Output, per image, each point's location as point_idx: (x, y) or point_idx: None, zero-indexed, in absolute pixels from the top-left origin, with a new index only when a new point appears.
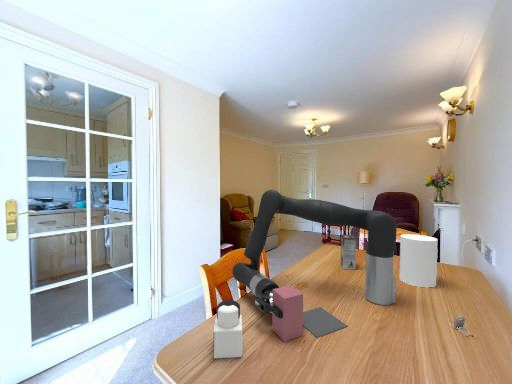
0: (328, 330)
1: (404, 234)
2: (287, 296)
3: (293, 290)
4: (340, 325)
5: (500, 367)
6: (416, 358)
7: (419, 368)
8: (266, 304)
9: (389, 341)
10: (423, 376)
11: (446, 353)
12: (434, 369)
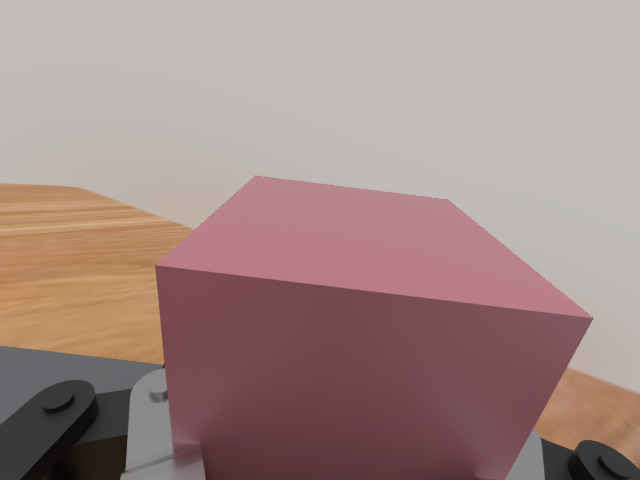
0: (108, 369)
1: None
2: (407, 201)
3: (278, 206)
4: (6, 362)
5: (41, 187)
6: (101, 228)
7: (139, 224)
8: (604, 452)
9: (46, 258)
10: (162, 221)
11: (36, 211)
12: (123, 216)
